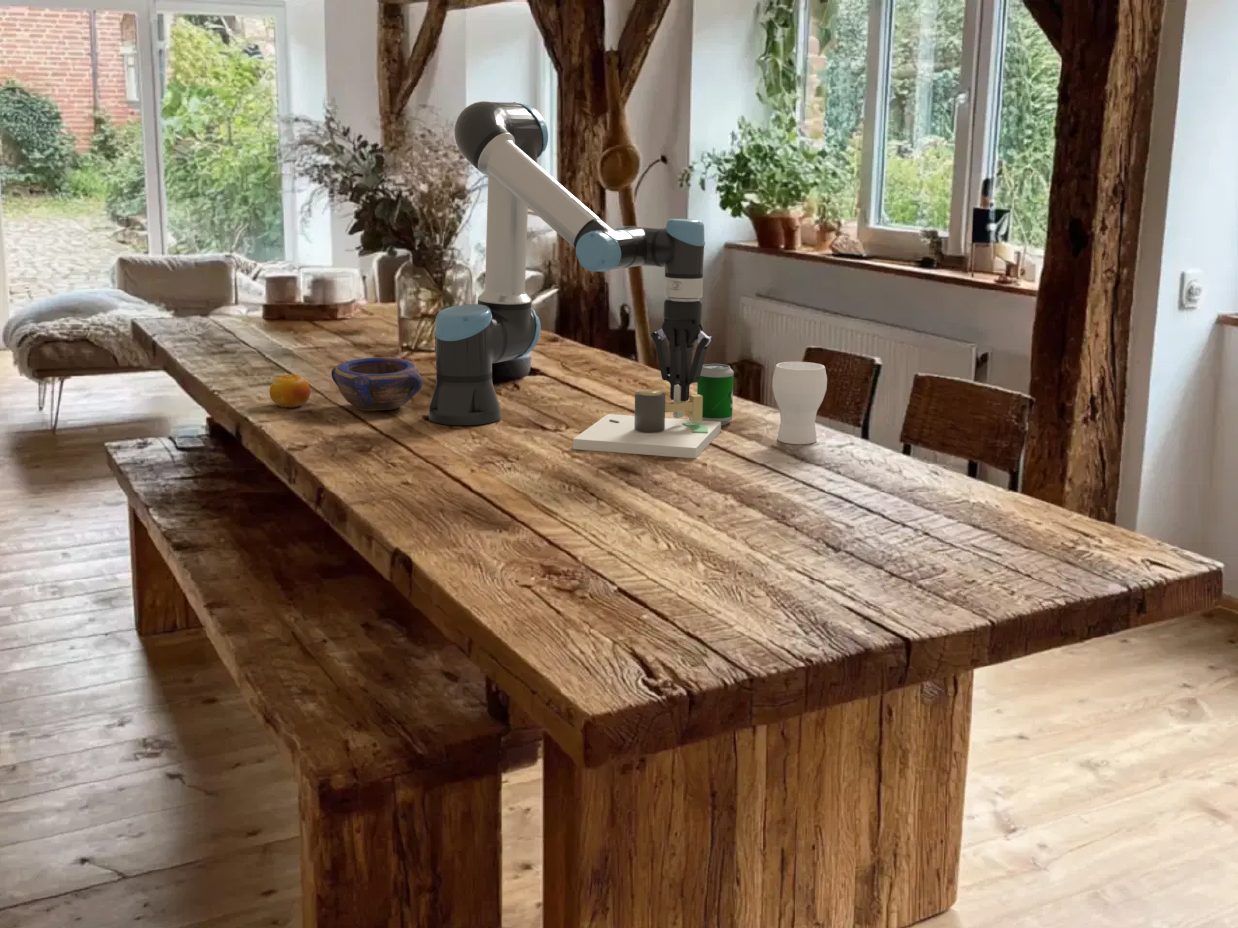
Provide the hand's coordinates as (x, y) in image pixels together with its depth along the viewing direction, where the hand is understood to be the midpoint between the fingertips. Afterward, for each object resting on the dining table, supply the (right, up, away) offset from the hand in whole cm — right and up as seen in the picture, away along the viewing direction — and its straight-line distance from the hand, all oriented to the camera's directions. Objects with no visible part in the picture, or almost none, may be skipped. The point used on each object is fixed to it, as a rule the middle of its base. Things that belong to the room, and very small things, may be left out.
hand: (679, 416), depth 258 cm
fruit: (-84, +3, +24) cm, 88 cm away
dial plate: (-6, -5, -4) cm, 9 cm away
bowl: (-65, +2, +23) cm, 69 cm away
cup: (+23, -5, -3) cm, 24 cm away
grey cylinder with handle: (-2, -2, -3) cm, 4 cm away
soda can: (+8, -1, +12) cm, 15 cm away
